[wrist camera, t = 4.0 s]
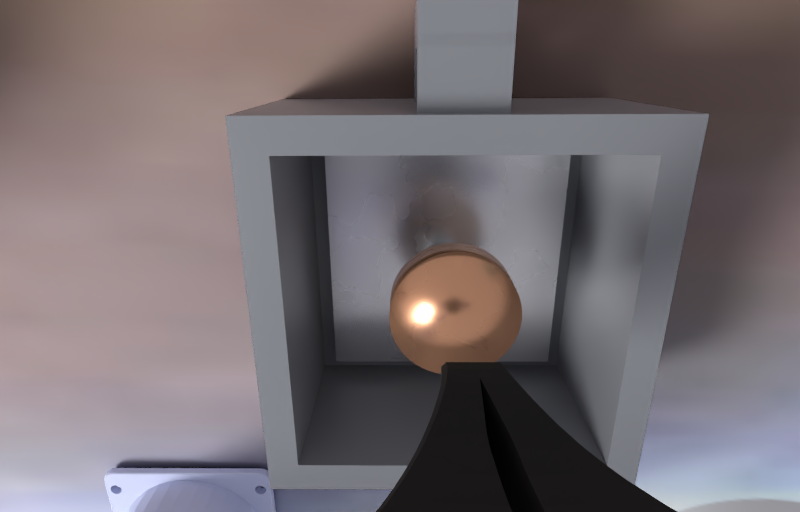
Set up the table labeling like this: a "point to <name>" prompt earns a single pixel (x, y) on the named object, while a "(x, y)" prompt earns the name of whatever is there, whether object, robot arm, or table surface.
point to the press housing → (460, 135)
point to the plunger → (445, 256)
